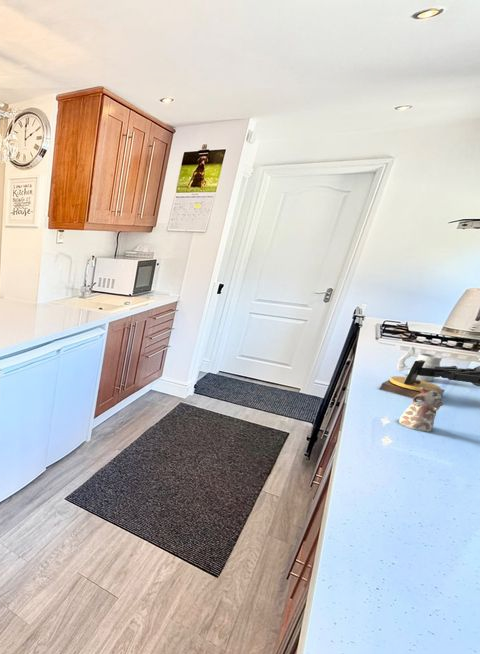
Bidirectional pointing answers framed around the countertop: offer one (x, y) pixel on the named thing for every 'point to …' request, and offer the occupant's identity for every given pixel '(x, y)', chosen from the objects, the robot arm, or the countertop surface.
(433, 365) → the mug
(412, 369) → the wheel
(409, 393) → the wheel base
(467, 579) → the countertop surface
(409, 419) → the figurine
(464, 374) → the robot arm
